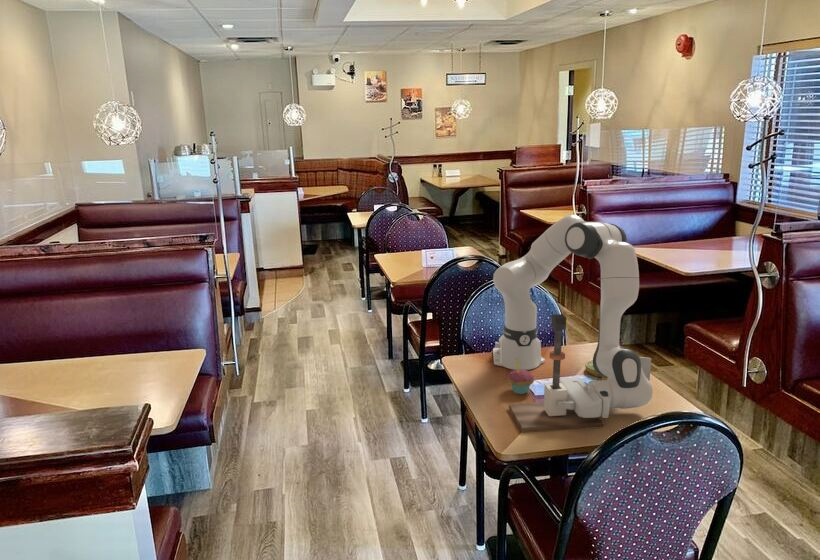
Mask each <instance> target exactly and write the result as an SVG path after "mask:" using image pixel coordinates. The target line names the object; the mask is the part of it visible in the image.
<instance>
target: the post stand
mask: <svg viewBox="0 0 820 560" xmlns="http://www.w3.org/2000/svg"><path fill="white" fill-rule="evenodd" d="M551 328H552V329H553V330H554V338H553V339H554V340H553V341H554V342H553V346H554V347H553V350H552V351H549V359H551V360H553V363H552V364H553V366H552V383H553V384H552V383H551V384H552V389H559V383H560V377H561V361H563V360H565V359H566V353H565V352H564V351H562V339H563V330H564V331H565V330H567V316H566V315H564V314H562V313H561V314H560V313H558V314H557V313H556V314H551ZM508 410H509V413H511V415H512V417H513V419H514V420H515V422H516V424H517V426H518V428H519V429H520V431H521V433H535V432H549V431H551V432H553V431H565V430H579V429H582V430H583V429H593V428H594V429H595V428H597V429H598V428H603V427H604V422H603V421H602V419H601V417H596V418H583V417H579V416H578V415H577V414H576V412H575V411H574V410H570V409H566V415H561V416H548V414H547V413H546V411H545V410H544V401H543V402H529V403H528V402H527V403H514V404H513V403H511V404H508Z"/></svg>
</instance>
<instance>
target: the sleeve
mask: <svg viewBox="0 0 820 560" xmlns="http://www.w3.org/2000/svg"><path fill="white" fill-rule="evenodd" d="M552 384H553V382H552V383H544V391H543V392H544V393H543V402H544V410H545V411H546V413H547V414H548V416H561V415H566V409H565V408H558V407H557V405H556V401H558V400H559V401H560V400H563V401H565V402H567V389H566V388H565V387H564V386H563V384H562V383H559V389H552Z"/></svg>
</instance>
